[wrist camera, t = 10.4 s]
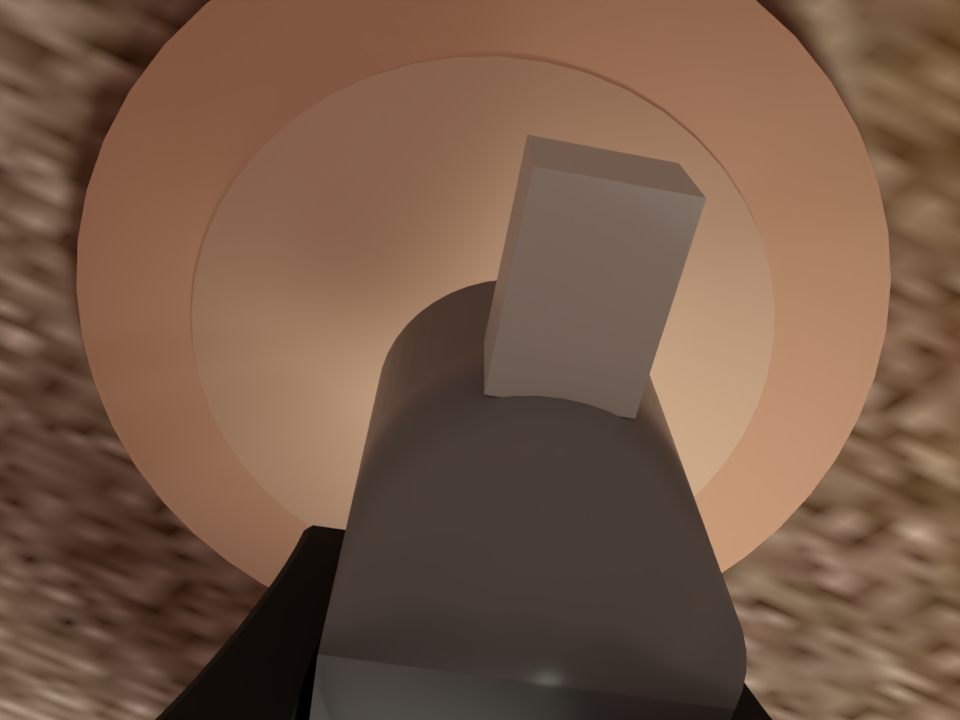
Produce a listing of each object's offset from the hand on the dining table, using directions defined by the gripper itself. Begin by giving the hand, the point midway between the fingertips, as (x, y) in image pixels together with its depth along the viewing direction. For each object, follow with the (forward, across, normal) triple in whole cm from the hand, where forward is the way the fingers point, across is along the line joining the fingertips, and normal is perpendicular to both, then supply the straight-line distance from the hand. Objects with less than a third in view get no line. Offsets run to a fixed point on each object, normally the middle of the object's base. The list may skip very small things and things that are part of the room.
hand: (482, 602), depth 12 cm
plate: (+8, 0, 0) cm, 8 cm away
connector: (+1, 0, -1) cm, 2 cm away
